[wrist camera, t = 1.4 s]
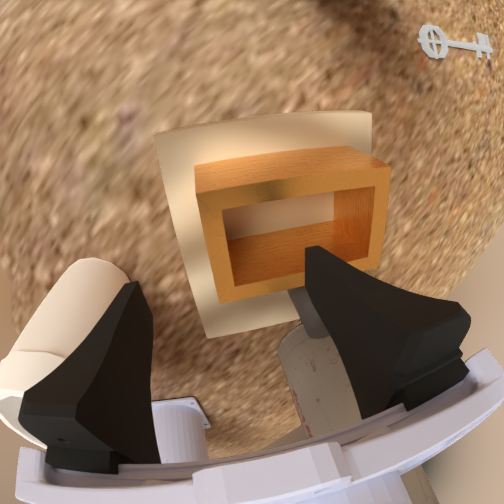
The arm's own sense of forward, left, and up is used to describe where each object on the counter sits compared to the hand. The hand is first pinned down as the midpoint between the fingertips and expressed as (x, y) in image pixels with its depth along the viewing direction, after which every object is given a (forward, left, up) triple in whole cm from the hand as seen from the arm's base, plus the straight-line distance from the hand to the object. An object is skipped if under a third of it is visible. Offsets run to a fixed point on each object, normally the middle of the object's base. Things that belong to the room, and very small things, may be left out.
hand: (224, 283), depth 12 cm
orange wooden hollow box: (0, -4, -8) cm, 9 cm away
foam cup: (-5, +11, -9) cm, 15 cm away
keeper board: (-3, -4, -9) cm, 11 cm away
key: (+13, -23, -10) cm, 28 cm away
